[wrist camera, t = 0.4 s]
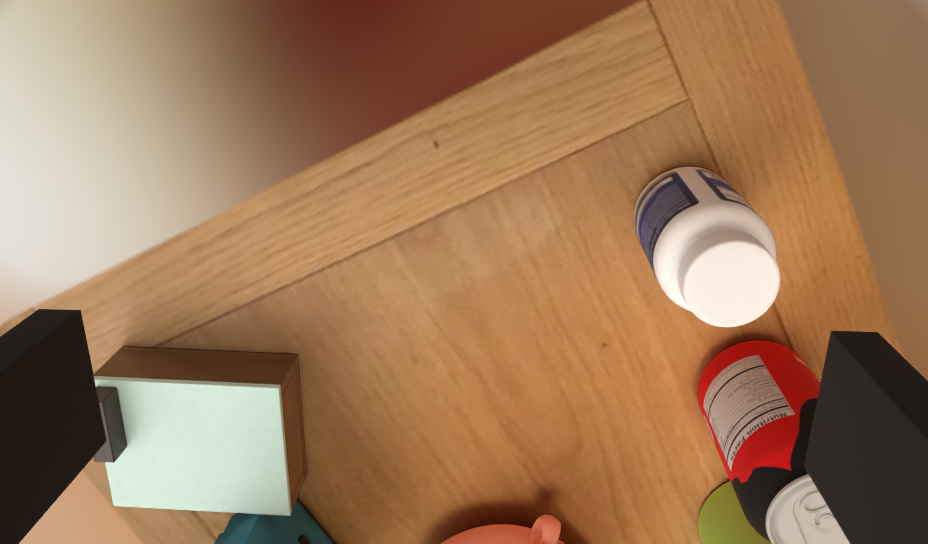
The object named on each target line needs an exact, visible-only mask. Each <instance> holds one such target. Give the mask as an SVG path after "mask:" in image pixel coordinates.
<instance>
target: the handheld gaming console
mask: <svg viewBox="0 0 928 544" xmlns="http://www.w3.org/2000/svg"><path fill="white" fill-rule="evenodd" d="M214 544H334V542H333V541H332V540H331V539H330V538H329V536H328V535H327V534H326V533H325V532H324V531H323V529H322V528H321V527H320V526H319V525H318V523H317V522H316V521H315V520H314V519H313V518H312V516H311V515H310V514H309V513H308V512H307V510H306V509H305V508H304V507H303V506H302V505H301V503H300V502H299V501H298V500H297V499H296V502H295V504H294V507H293V509H292V512H291V515H290V516H284V515H266V514H249V513H237V514H235V515H233V516H232V517H231V519H230V521H229V523H228V525H227V527H226V529H225V531H224V532H223V533H221V534H219V536H218V538H217V540H216V541H215V543H214Z"/></svg>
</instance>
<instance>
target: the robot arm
mask: <svg viewBox="0 0 928 544" xmlns="http://www.w3.org/2000/svg"><path fill="white" fill-rule="evenodd" d="M106 441H107V440H106V435H105V430H104V425H103V420H102V415H101V410H100V405H99V400H98V395H97V390H96V385H95V380H94V375H93V370H92V365H91V360H90V355H89V350H88V345H87V340H86V335H85V330H84V325H83V320H82V315H81V310H51V309H39V310H37V311H36V312H34V313H33V314H32V315H30V316H29V317H27V318H26V319H25V320H23V321H22V322H20V323H19V324H18V325H16V326H15V327H13V328H12V329H11V330H9V331H8V332H6V333H5V334H4V335H2V336H1V337H0V544H19V543H20V541H21V540H22V539H23V538H24V537H25V536H26V534H27V533H28V532H29V531H30V530H31V529H32V527H33V526H34V525H35V524H36V523H37V522H38V520H39V519H40V518H41V517H42V516H43V514H44V513H45V512H46V511H47V510H48V509H49V508H50V506H51V505H52V504H53V503H54V502H55V501H56V499H57V498H58V497H59V496H60V495H61V494H62V493H63V491H64V490H65V489H66V488H67V487H68V486H69V484H70V483H71V482H72V481H73V480H74V478H75V477H76V476H77V475H78V473H80V472H81V470H82V469H83V468H84V467H85V466H86V465H87V463H88V462H89V461H90V460H91V459H92V458H93V456H94V455H95V454H96V453H97V452H98V451H99V449H100V448H101V447H102V446H103V445H104V444H105V442H106ZM804 468H805V469H806V471H807V473H808V474H809V476H810V478H811V479H812V481H813V483H814V484H815V486H816V488H817V489H818V491H819V493H820V494H821V496H822V498H823V499H824V501H825V503H826V504H827V506H828V508H829V509H830V511H831V513H832V514H833V516H834V518H835V519H836V521H837V523H838V524H839V526H840V528H841V530H842V531H843V533H844V535H845V536H846V538H847V540H848V541H849V543H850V544H928V381H927V380H926V379H925V378H924V377H923V376H922V375H921V374H920V373H919V372H918V371H917V370H916V369H915V368H914V367H912V366H911V365H910V364H909V363H908V362H907V361H906V360H905V359H904V358H903V357H902V356H901V355H900V354H899V353H898V352H897V351H896V350H895V349H894V348H893V347H892V346H891V345H890V344H889V343H888V342H887V341H886V340H885V339H884V338H883V337H882V336H881V335H880V334H879V333H878V332H850V331H831V335H830V340H829V345H828V349H827V354H826V359H825V364H824V369H823V374H822V379H821V384H820V389H819V394H818V399H817V404H816V409H815V413H814V418H813V423H812V428H811V433H810V438H809V443H808V448H807V453H806V458H805V463H804Z"/></svg>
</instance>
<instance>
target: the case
mask: <svg viewBox="0 0 928 544" xmlns="http://www.w3.org/2000/svg"><path fill="white" fill-rule="evenodd" d="M94 376H106V377H127V378H148V379H170V380H191V381H212V382H233V383H254V384H275V385H281V395H282V406H283V418H284V429H285V441H286V452H287V463H288V475H289V486H290V498H291V509H293V507H294V504H295V502H296V499H297V497H298V494H299V492H300V489H301V487H302V484H303V482H304V479H305V477H306V475H307V474H306V461H305V447H304V434H303V421H302V408H301V395H300V382H299V369H298V356H297V354H276V353H254V352H232V351H210V350H187V349H165V348H143V347H121V348H120V349H119V351H117V352H116V353H115V354H114V355H113V356H112V357H111V358H110V359H109V360H108V361H107V362H106V363H105V364H104V365H103V366H102V367H101V368H100V369H99V370H98V371H97V372H96V373H95V374H94Z"/></svg>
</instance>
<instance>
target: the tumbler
mask: <svg viewBox="0 0 928 544" xmlns="http://www.w3.org/2000/svg"><path fill="white" fill-rule="evenodd" d="M698 531H699V536H700V539H701V542H702V544H772V543H771V542H770V541H768V540H766V539H765V538H763V537H762V536H761V535H760V534H759V533H757V532H756V530H755V529H754V528H753V527H752V526H751V525H750V523H749V522H748V521H747V519H746V517H745V515H744V513H743V510H742V508H741V505H740V503H739V501H738V498H737V496H736V493H735V491H734V489H733V486H732V484H731V481H729V482H727V483H725V484H723V485H722V486H720V487H719V488H718V489H716V490H715V491H714V492H713V493H712V494H711V495H710V496H709V497H708V498H707V500H706V501H705V503H704V504H703V506H702V508H701V511H700V514H699V518H698Z"/></svg>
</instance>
